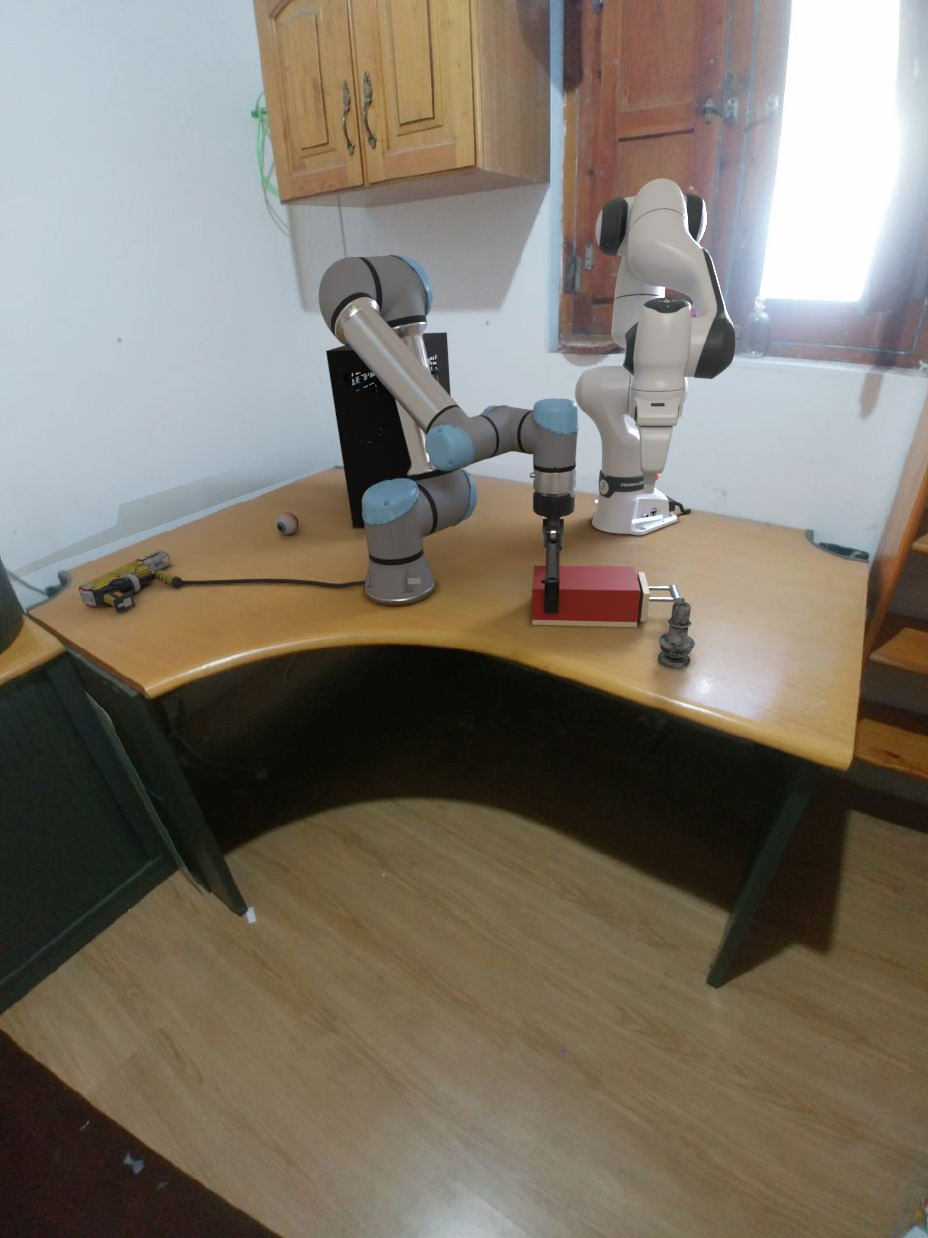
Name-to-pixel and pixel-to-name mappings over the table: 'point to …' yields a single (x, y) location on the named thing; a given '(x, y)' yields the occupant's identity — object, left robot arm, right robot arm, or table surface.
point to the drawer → (646, 597)
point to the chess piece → (677, 637)
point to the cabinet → (589, 596)
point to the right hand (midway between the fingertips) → (647, 484)
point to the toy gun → (127, 582)
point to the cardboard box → (373, 420)
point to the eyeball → (287, 523)
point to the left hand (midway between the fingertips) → (551, 596)
